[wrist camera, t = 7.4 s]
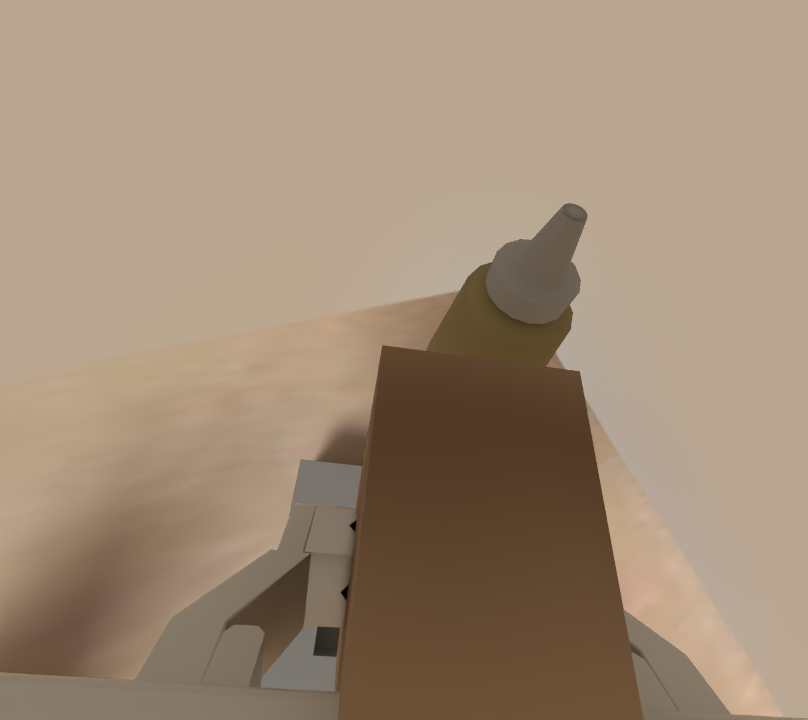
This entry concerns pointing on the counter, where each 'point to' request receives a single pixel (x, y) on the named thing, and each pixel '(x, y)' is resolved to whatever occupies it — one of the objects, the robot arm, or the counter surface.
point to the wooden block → (481, 552)
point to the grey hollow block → (315, 646)
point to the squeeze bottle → (518, 298)
